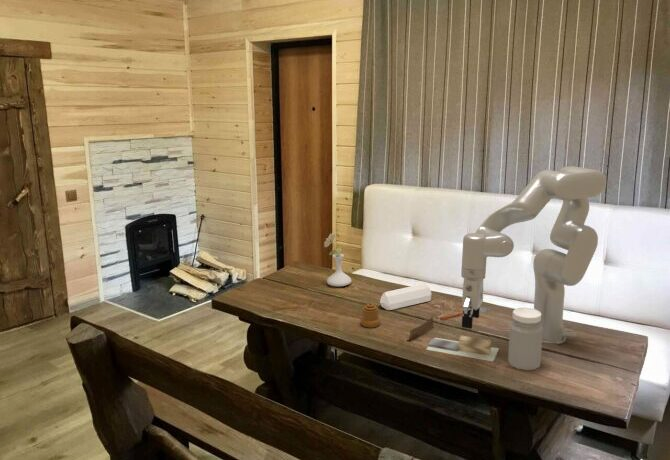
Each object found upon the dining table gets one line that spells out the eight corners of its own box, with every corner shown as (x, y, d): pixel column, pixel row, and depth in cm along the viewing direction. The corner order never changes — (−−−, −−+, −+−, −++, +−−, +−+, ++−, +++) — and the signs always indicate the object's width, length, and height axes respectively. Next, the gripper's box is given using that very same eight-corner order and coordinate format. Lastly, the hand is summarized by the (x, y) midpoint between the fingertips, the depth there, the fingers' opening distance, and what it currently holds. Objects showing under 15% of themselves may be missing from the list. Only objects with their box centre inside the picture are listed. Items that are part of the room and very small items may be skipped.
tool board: (499, 351, 186) (499, 348, 186) (493, 364, 177) (493, 361, 177) (434, 340, 195) (434, 337, 195) (426, 352, 187) (426, 349, 187)
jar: (545, 364, 176) (549, 311, 172) (532, 376, 169) (536, 321, 165) (515, 355, 183) (518, 303, 178) (502, 366, 176) (504, 313, 171)
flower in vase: (340, 278, 263) (339, 227, 257) (356, 284, 254) (355, 231, 248) (318, 285, 255) (316, 232, 249) (334, 291, 246) (333, 236, 240)
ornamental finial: (371, 330, 205) (356, 324, 210) (384, 324, 210) (369, 318, 216) (371, 309, 203) (356, 305, 208) (384, 304, 208) (369, 299, 214)
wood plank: (430, 328, 205) (430, 316, 204) (434, 330, 204) (435, 317, 202) (405, 343, 194) (405, 329, 193) (410, 344, 193) (410, 331, 191)
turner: (491, 350, 184) (491, 339, 183) (488, 357, 180) (488, 345, 179) (432, 340, 193) (432, 329, 192) (428, 346, 189) (428, 335, 188)
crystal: (388, 305, 219) (437, 293, 229) (379, 291, 223) (428, 281, 234) (383, 317, 224) (432, 305, 234) (375, 303, 228) (423, 292, 239)
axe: (451, 325, 208) (451, 321, 207) (439, 320, 213) (439, 316, 213) (491, 311, 220) (491, 307, 220) (479, 307, 225) (479, 303, 225)
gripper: (479, 281, 169) (476, 334, 173) (490, 266, 184) (487, 315, 188) (454, 278, 172) (452, 329, 176) (468, 263, 187) (465, 311, 191)
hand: (470, 322), depth 182 cm, fingers open, 9 cm apart
